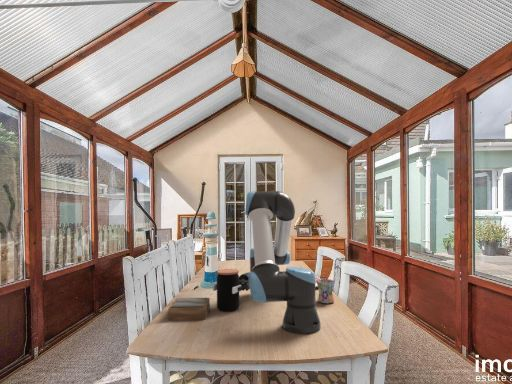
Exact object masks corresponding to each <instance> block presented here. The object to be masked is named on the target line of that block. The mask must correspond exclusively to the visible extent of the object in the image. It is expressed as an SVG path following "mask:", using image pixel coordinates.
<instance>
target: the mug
mask: <svg viewBox="0 0 512 384" xmlns="http://www.w3.org/2000/svg"><path fill="white" fill-rule="evenodd" d="M316 282H317V285H318V287H317V289H318V296H317V299H316V300H317V301H316V302H319V303H321V304H333V303H334V302H335V299H334V295H333V289H334V284H335V283H336V281H335V280H334V279H328V278H322V279H321V278H320V279H318V280H316Z"/></svg>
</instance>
